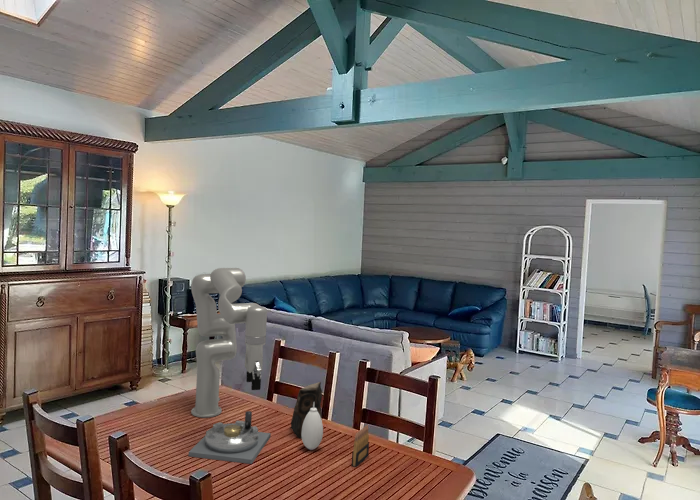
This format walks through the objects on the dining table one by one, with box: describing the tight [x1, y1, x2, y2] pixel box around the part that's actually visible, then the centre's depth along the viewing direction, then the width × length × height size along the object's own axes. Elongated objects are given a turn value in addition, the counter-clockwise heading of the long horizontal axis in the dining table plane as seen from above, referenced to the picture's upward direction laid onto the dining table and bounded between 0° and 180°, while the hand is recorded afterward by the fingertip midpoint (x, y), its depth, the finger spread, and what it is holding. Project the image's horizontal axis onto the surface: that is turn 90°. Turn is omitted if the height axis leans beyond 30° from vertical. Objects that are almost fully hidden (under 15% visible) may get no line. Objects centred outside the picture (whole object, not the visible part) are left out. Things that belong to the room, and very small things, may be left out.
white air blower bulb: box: [301, 403, 324, 451], centre depth 188 cm, size 8×8×18 cm
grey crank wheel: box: [205, 410, 259, 453], centre depth 186 cm, size 19×19×9 cm
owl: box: [290, 381, 323, 440], centre depth 201 cm, size 13×13×20 cm
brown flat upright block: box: [351, 424, 370, 468], centre depth 180 cm, size 11×2×12 cm, turn 154°
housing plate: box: [187, 431, 272, 465], centre depth 186 cm, size 23×23×2 cm
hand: (253, 385), depth 186 cm, fingers open, 9 cm apart
